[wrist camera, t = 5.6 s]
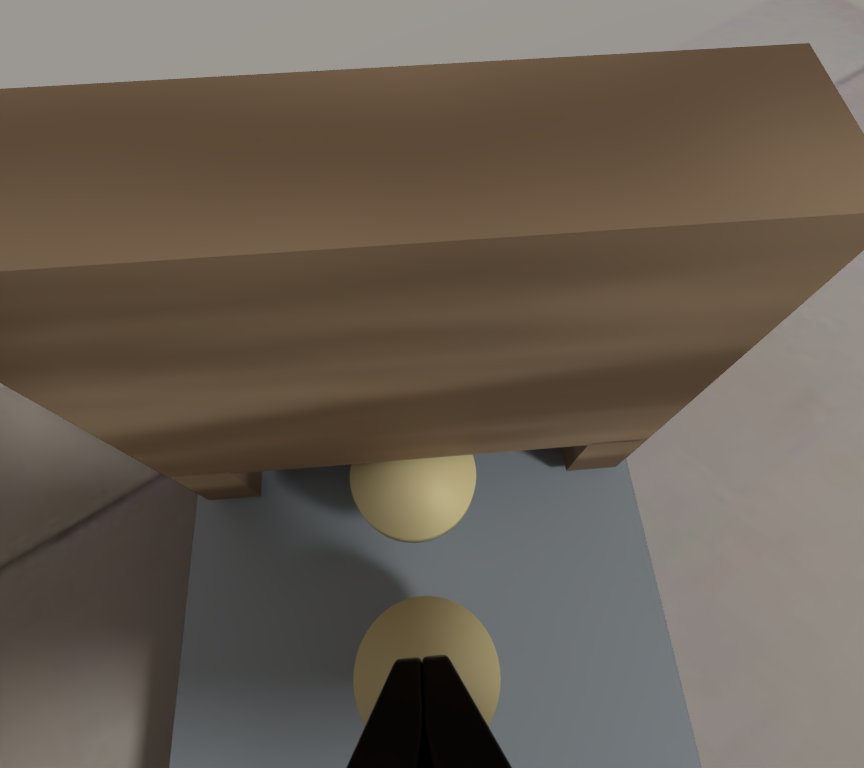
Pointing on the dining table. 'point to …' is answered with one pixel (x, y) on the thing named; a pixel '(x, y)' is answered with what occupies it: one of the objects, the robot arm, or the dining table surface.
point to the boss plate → (485, 564)
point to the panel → (413, 252)
